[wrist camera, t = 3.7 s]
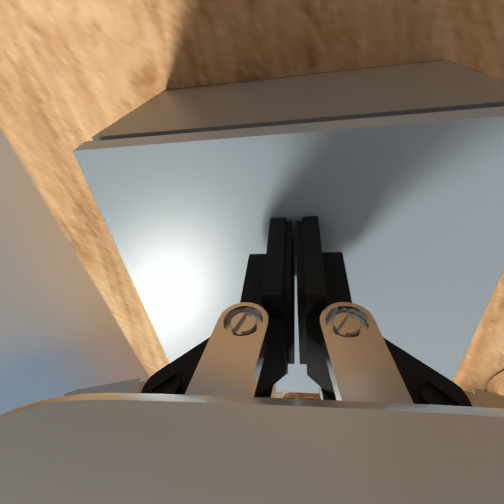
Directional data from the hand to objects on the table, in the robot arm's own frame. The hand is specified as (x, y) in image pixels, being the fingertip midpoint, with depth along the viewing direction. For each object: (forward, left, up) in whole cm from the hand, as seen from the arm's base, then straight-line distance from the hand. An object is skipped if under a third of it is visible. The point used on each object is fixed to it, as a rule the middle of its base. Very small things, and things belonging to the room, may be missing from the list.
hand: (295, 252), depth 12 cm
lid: (+3, 0, -1) cm, 3 cm away
